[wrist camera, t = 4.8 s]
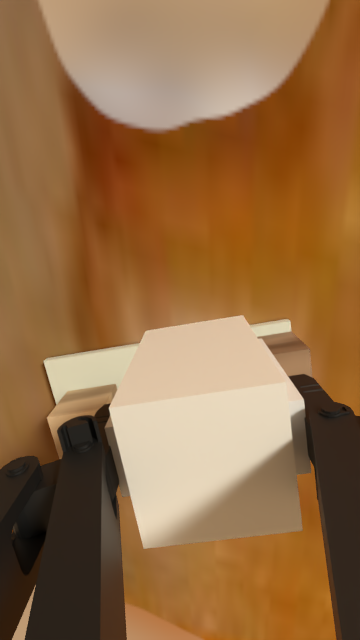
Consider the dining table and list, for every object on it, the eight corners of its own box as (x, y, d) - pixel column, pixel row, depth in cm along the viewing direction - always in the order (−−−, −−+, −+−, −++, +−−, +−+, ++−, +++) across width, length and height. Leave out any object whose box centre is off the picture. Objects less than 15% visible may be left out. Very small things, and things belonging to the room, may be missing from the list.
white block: (145, 331, 17) (108, 408, 10) (242, 315, 17) (285, 381, 9) (163, 417, 18) (143, 548, 11) (254, 404, 18) (302, 530, 10)
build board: (46, 358, 34) (43, 361, 33) (287, 318, 32) (290, 321, 31) (76, 460, 37) (74, 465, 36) (299, 429, 35) (301, 433, 34)
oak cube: (67, 391, 34) (46, 417, 29) (115, 383, 33) (103, 409, 28) (79, 434, 35) (61, 467, 30) (126, 428, 34) (116, 459, 30)
